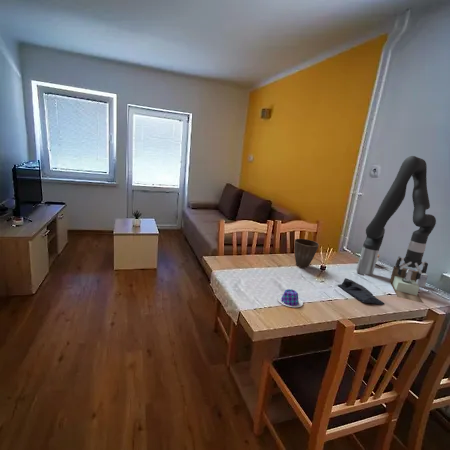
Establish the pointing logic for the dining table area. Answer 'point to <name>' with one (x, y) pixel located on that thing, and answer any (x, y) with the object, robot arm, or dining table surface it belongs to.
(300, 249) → the plant pot
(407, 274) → the steel peg
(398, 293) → the track and wall
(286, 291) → the checked sun hat
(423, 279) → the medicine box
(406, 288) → the sliding block
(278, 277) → the dining table surface
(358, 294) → the dark folded cloth
